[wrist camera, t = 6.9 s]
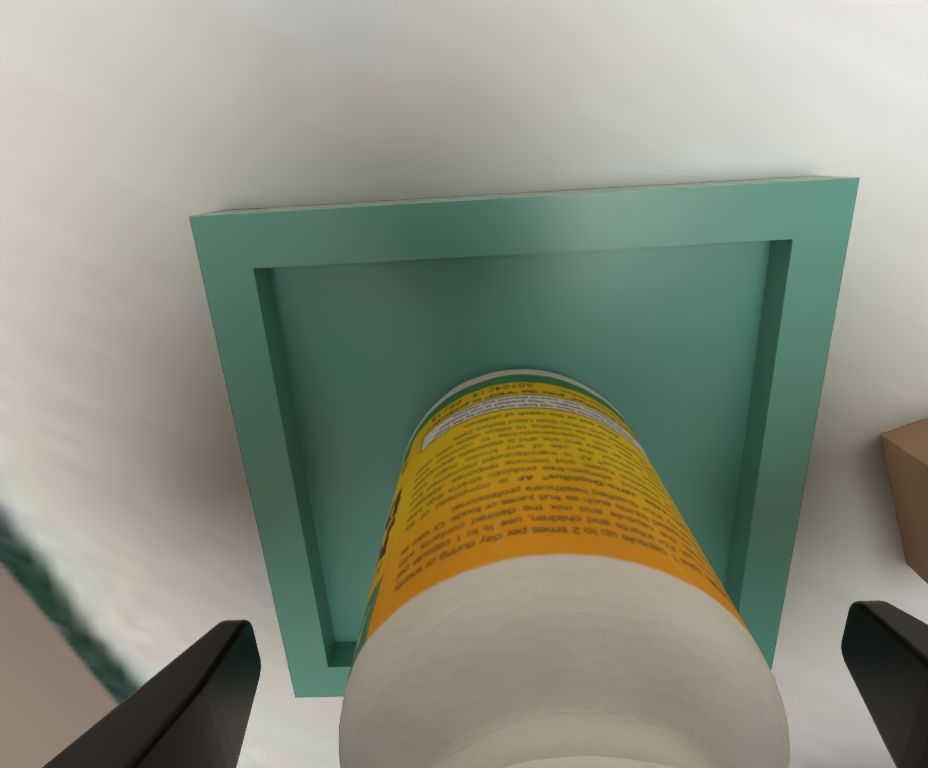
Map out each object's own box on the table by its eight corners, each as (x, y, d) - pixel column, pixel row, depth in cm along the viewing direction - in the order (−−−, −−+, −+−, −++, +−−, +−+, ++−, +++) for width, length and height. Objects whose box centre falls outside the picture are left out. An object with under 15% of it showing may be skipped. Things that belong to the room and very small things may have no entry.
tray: (744, 642, 16) (768, 686, 14) (309, 654, 16) (295, 697, 15) (815, 175, 11) (859, 177, 10) (220, 210, 12) (189, 216, 11)
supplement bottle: (654, 539, 14) (977, 1227, 5) (441, 585, 15) (387, 1273, 6) (612, 331, 12) (1012, 835, 3) (369, 395, 13) (117, 968, 4)
